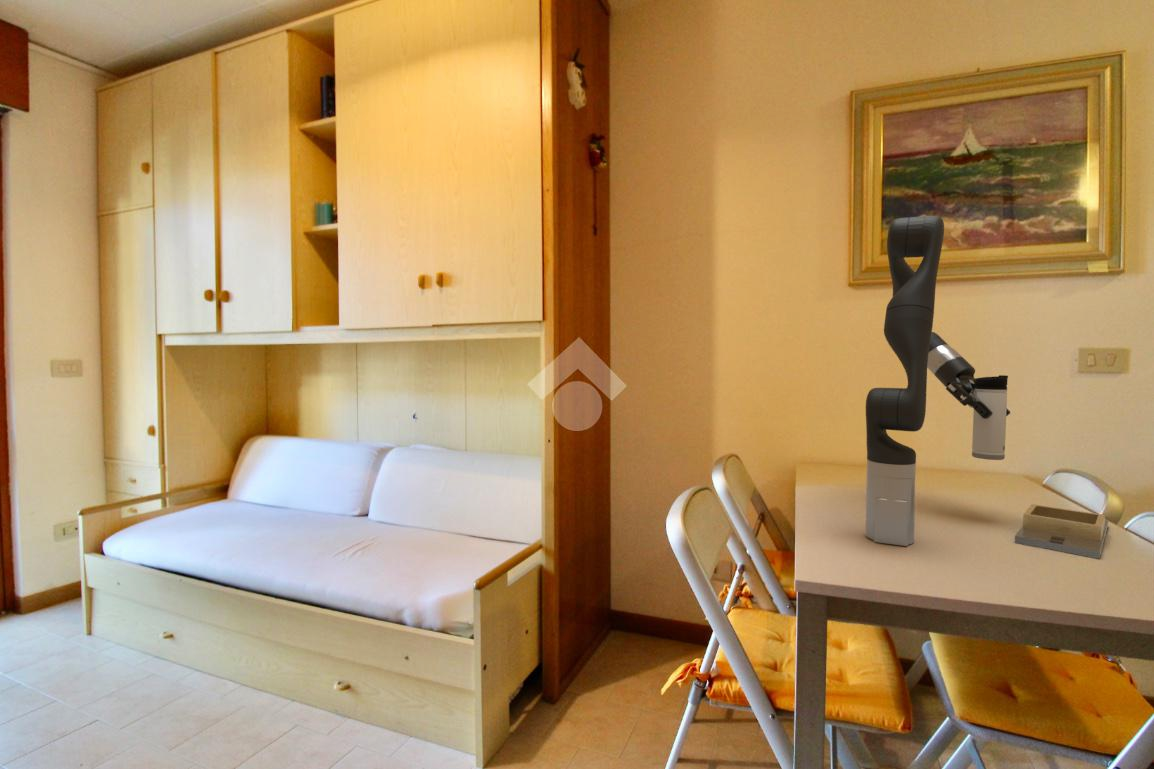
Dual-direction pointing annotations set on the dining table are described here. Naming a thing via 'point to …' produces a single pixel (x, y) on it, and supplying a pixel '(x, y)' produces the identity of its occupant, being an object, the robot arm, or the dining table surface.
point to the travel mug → (990, 419)
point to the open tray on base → (1063, 530)
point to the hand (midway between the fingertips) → (997, 415)
